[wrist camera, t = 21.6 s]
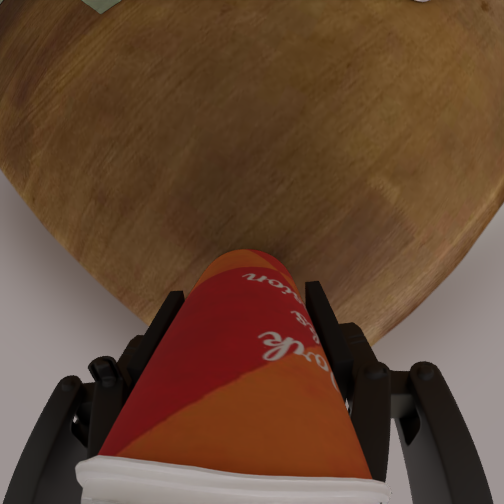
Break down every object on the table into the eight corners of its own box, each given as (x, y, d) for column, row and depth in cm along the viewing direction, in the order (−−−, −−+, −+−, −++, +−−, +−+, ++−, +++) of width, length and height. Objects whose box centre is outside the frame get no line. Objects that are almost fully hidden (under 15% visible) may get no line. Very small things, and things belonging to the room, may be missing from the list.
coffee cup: (317, 332, 18) (372, 548, 4) (203, 350, 19) (157, 553, 4) (301, 214, 15) (473, 490, 1) (166, 242, 16) (-11, 458, 2)
